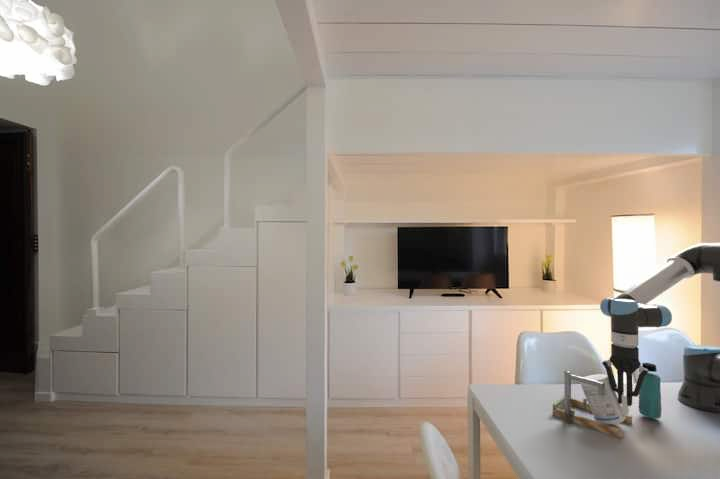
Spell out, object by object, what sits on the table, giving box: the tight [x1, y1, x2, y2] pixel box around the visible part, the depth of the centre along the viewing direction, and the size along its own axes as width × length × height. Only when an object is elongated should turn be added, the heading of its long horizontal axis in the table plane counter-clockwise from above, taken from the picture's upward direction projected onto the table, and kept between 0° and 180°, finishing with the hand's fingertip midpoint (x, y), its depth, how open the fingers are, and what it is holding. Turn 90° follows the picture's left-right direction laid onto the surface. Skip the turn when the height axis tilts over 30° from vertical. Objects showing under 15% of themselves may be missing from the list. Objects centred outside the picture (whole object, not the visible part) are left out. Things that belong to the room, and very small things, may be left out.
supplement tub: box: [579, 373, 626, 426], centre depth 126 cm, size 10×10×15 cm
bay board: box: [552, 395, 633, 439], centre depth 128 cm, size 21×15×4 cm
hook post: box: [563, 370, 605, 424], centre depth 122 cm, size 12×2×18 cm, turn 42°
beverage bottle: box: [637, 362, 663, 420], centre depth 129 cm, size 6×7×20 cm
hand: (625, 413), depth 120 cm, fingers closed
